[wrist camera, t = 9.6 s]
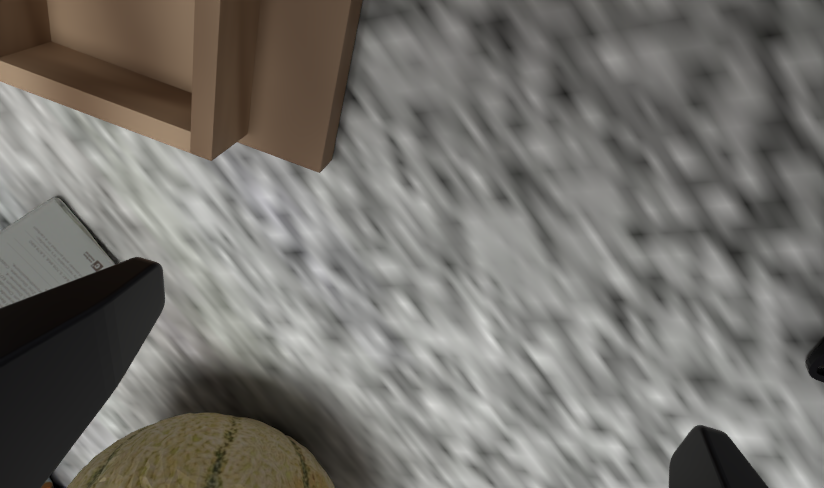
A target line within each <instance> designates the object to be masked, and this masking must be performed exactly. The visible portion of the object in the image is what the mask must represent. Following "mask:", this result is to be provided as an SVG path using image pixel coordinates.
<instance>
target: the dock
mask: <svg viewBox="0 0 824 488" xmlns="http://www.w3.org/2000/svg"><path fill="white" fill-rule="evenodd" d="M362 1H363V0H0V81H1V82H4V83H6V84H9V85H12V86H14V87H17V88H19V89H22V90H25V91H27V92H30V93H33V94H35V95H38V96H41V97H43V98H46V99H49V100H51V101H54V102H57V103H59V104H62V105H65V106H67V107H70V108H72V109H75V110H78V111H80V112H83V113H86V114H88V115H91V116H94V117H96V118H99V119H102V120H104V121H107V122H110V123H112V124H115V125H118V126H120V127H123V128H125V129H128V130H131V131H133V132H136V133H139V134H141V135H144V136H147V137H149V138H152V139H155V140H157V141H160V142H163V143H165V144H168V145H171V146H173V147H176V148H178V149H181V150H184V151H186V152H189V153H192V154H194V155H197V156H200V157H202V158H205V159H208V160H210V161H212V160H213V159H215V158H216V157H217V156H219V155H220V154H221V153H223V152H224V151H225V150H227V149H228V148H229V147H231V146H232V145H234V144H235V143H236V142H238V143H241V144H244V145H246V146H249V147H252V148H254V149H257V150H260V151H263V152H265V153H268V154H271V155H273V156H276V157H279V158H281V159H284V160H287V161H289V162H292V163H295V164H297V165H300V166H303V167H305V168H308V169H311V170H313V171H316V172H319V173H320V172H321V171H322V170H323V169H324V168H325V167H326V166H327V165H328V164H329V162H330V161H331V160H332V157H333V152H334V146H335V141H336V136H337V131H338V126H339V120H340V115H341V110H342V105H343V100H344V94H345V89H346V84H347V79H348V74H349V69H350V63H351V58H352V53H353V48H354V43H355V37H356V32H357V27H358V22H359V17H360V11H361V6H362Z"/></svg>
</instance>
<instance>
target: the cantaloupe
mask: <svg viewBox="0 0 824 488" xmlns="http://www.w3.org/2000/svg"><path fill="white" fill-rule="evenodd" d="M67 488H335V487H334V484H333V483H332V481H331V479H330V478H329V476H328V475H327V473H326V471H325V470H324V469H323V468H322V467H321V465H320V464H319V463H318V462H317V460H316V459H315V457H314V456H313V454H312V453H311V452H310V451H309V450H308V449H307V448H306V447H304V446H302V445H301V444H299V443H298V442H297V441H295V440H294V439H293V438H291V437H290V436H286V435H284V434H283V433H282V432H281V431H279V430H277V429H275V428H273V427H271V426H269V425H267V424H265V423H263V422H261V421H258V420H254V419H250V418H245V417H235V416H233V415H223V414H219V413H197V414H192V413H187V414H182V415H179V416H174V417H171V418H167V419H164V420H161V421H159V422H157V423H155V424H152V425H149V426H146V427H144V428H141V429H139V430H137V431H134V432H132V433H130V434H128V435H127V436H125V437H124V438H122V439H119V440H117V441H116V442H115V443H113V444H112V445H111V446H109V447H108V448H106V449H105V450H104V451H102V452H101V453H99V454H98V455H97V456H95V457H94V458H93V459H92V460H91V461H90V462H89V464H88V465H86V466H85V467H84V468H83V469H82V470H81V471H80V472H79V473H78V474H77V476H76V477H75V478H74V479H73V481H72V482H71V483H70V484H69V485H68V486H67Z"/></svg>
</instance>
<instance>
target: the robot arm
mask: <svg viewBox="0 0 824 488" xmlns="http://www.w3.org/2000/svg"><path fill="white" fill-rule="evenodd" d="M164 303H165V292H164V279H163V269H162V266H161V265H160V264H159V263H157V262H154V261H151V260H148V259H144V258H141V257H135V258H131V259H129V260H126V261H123V262H121V263H118V264H115V265H113V266H110V267H107V268H105V269H102V270H99V271H97V272H94V273H92V274H89V275H86V276H84V277H81V278H78V279H76V280H73V281H70V282H68V283H65V284H63V285H60V286H57V287H55V288H52V289H49V290H47V291H44V292H41V293H39V294H36V295H33V296H31V297H28V298H26V299H23V300H20V301H18V302H15V303H12V304H10V305H7V306H4V307H2V308H0V488H41V487H42V486H43V485H44V483H45V482H46V481H47V479H48V478H49V477H50V475H51V474H52V473H53V471H54V470H55V469H56V467H57V466H58V465H59V463H60V462H61V461H62V459H63V458H64V457H65V455H66V454H67V453H68V451H69V450H70V449H71V447H72V446H73V445H74V443H75V442H76V441H77V440H78V438H79V437H80V436H81V434H82V433H83V432H84V430H85V429H86V428H87V426H88V425H89V424H90V422H91V421H92V420H93V418H94V417H95V416H96V414H97V413H98V412H99V410H100V409H101V408H102V406H103V405H104V404H105V402H106V401H107V400H108V398H109V397H110V396H111V394H112V393H113V391H114V390H115V389H116V387H117V386H118V384H119V383H120V381H121V379H122V378H123V376H124V375H125V373H126V371H127V370H128V368H129V366H130V365H131V363H132V361H133V360H134V358H135V356H136V354H137V353H138V351H139V349H140V348H141V346H142V344H143V343H144V341H145V339H146V338H147V336H148V334H149V333H150V331H151V329H152V328H153V326H154V324H155V323H156V321H157V319H158V318H159V316H160V314H161V312H162V310H163V307H164ZM823 365H824V342H823V343H822V344H821V345H820V346H819V347H818V348H817V349H816V350H815V351H814V352H813V353H812V354H811V355H810V356H809V357H808V359H807V360H806V367H807V370H808V372H809V374H810V376H811V377H812V378H814V379H816V380H819V381H821V382H824V368H818V367H820V366H823ZM669 488H768V486H767V485H766V484H765V483H764V481H763V480H762V479H761V477H760V476H759V475H758V474H757V472H756V471H755V470H754V468H753V467H752V466H751V465H750V463H749V462H748V461H747V459H746V458H745V457H744V456H743V454H742V453H741V452H740V450H739V449H738V448H737V447H736V445H735V444H734V443H733V441H732V440H731V439H730V438H729V437H728V435H727V434H725V433H724V432H722V431H720V430H716V429H713V428H710V427H706V426H703V425H698V426H695V427H694V428H693V429H692V430H691V431H690V432H689V434H688V435H687V436H686V438H685V439H684V440H683V442H682V443H681V444H680V446H679V447H678V448H677V450H676V451H675V452H674V454H673V456H672V458H671V461H670V466H669Z"/></svg>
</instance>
